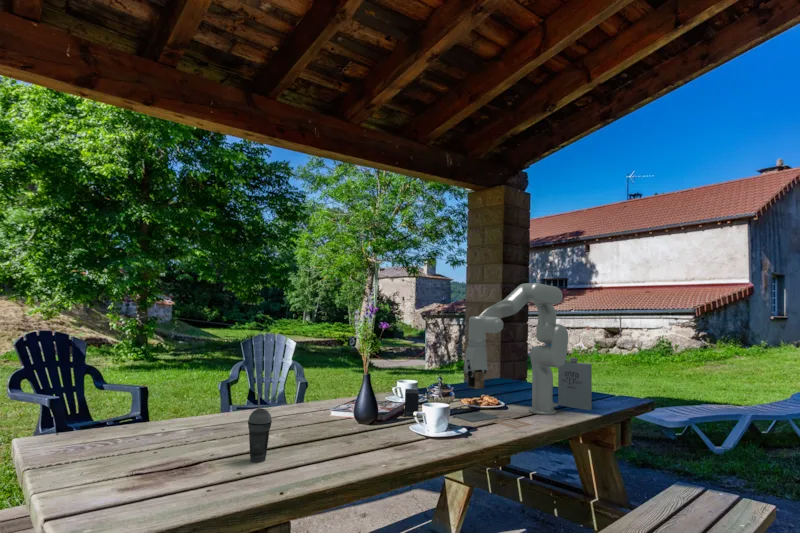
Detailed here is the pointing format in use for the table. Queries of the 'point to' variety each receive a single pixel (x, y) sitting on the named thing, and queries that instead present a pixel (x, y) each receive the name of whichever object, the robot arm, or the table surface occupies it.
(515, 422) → the tile
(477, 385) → the walnut block
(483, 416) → the slate board
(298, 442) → the table surface
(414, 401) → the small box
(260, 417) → the beverage cup
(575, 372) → the flask
